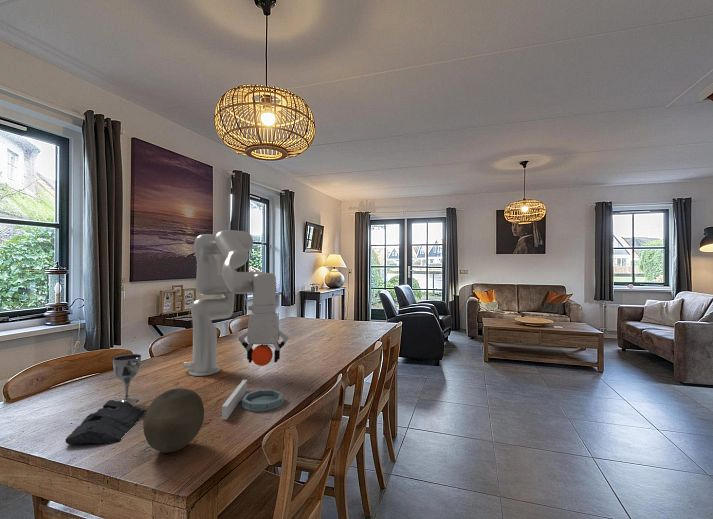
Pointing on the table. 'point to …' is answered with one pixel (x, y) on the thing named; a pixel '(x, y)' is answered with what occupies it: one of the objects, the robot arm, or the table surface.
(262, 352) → the clementine
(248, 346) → the robot arm
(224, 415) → the low wall
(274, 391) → the grey shallow dish
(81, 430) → the dark slate chunk
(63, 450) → the table surface
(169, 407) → the cantaloupe
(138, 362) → the wine glass
